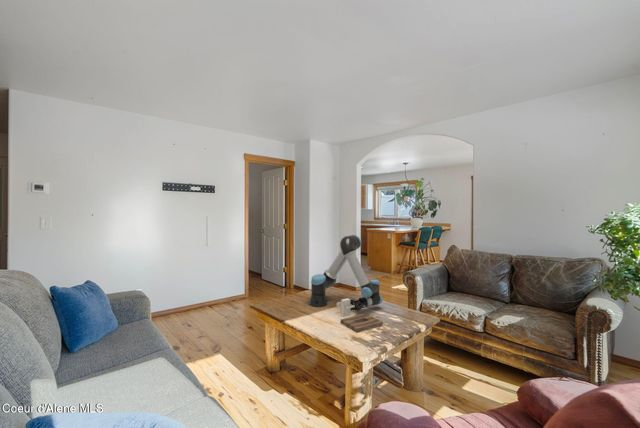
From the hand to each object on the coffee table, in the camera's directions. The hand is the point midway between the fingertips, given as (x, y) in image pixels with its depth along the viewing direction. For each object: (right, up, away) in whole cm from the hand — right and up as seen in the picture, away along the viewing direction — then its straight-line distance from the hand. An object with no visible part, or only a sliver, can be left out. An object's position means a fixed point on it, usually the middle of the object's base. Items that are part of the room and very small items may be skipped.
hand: (341, 307), depth 210 cm
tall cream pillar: (+3, -7, +2) cm, 8 cm away
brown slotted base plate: (+13, -7, -13) cm, 20 cm away
